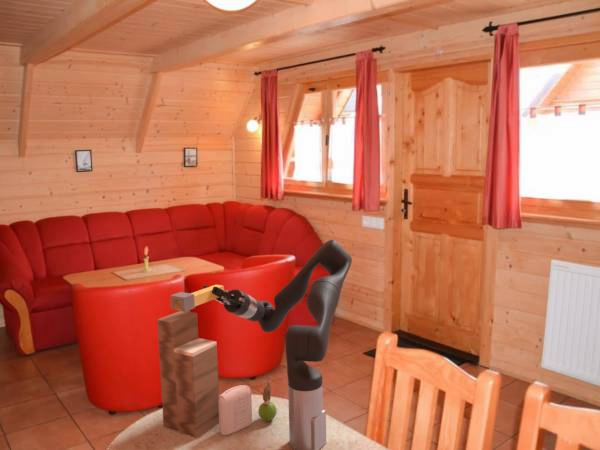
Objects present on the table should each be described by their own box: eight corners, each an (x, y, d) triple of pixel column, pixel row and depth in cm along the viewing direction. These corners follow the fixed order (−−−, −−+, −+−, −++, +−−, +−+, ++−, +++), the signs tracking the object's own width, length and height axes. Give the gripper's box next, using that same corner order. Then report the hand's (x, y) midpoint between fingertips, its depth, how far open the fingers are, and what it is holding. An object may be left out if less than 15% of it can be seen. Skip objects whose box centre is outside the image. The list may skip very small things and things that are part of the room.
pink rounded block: (245, 419, 162) (244, 380, 161) (254, 424, 159) (253, 384, 158) (217, 432, 155) (215, 391, 154) (226, 437, 152) (224, 396, 151)
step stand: (220, 422, 160) (215, 316, 156) (196, 438, 152) (191, 326, 147) (187, 412, 167) (182, 310, 163) (163, 426, 159) (157, 319, 154)
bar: (226, 295, 163) (226, 282, 163) (184, 311, 148) (184, 297, 148) (213, 293, 166) (213, 281, 165) (171, 309, 151) (170, 295, 150)
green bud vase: (279, 414, 165) (278, 376, 163) (274, 424, 159) (273, 386, 157) (261, 413, 166) (260, 375, 164) (256, 423, 160) (255, 385, 158)
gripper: (226, 290, 179) (194, 274, 165) (261, 295, 171) (231, 279, 157) (220, 312, 176) (187, 298, 162) (255, 318, 169) (223, 304, 155)
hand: (209, 289), depth 160 cm, fingers closed on bar, 3 cm apart
